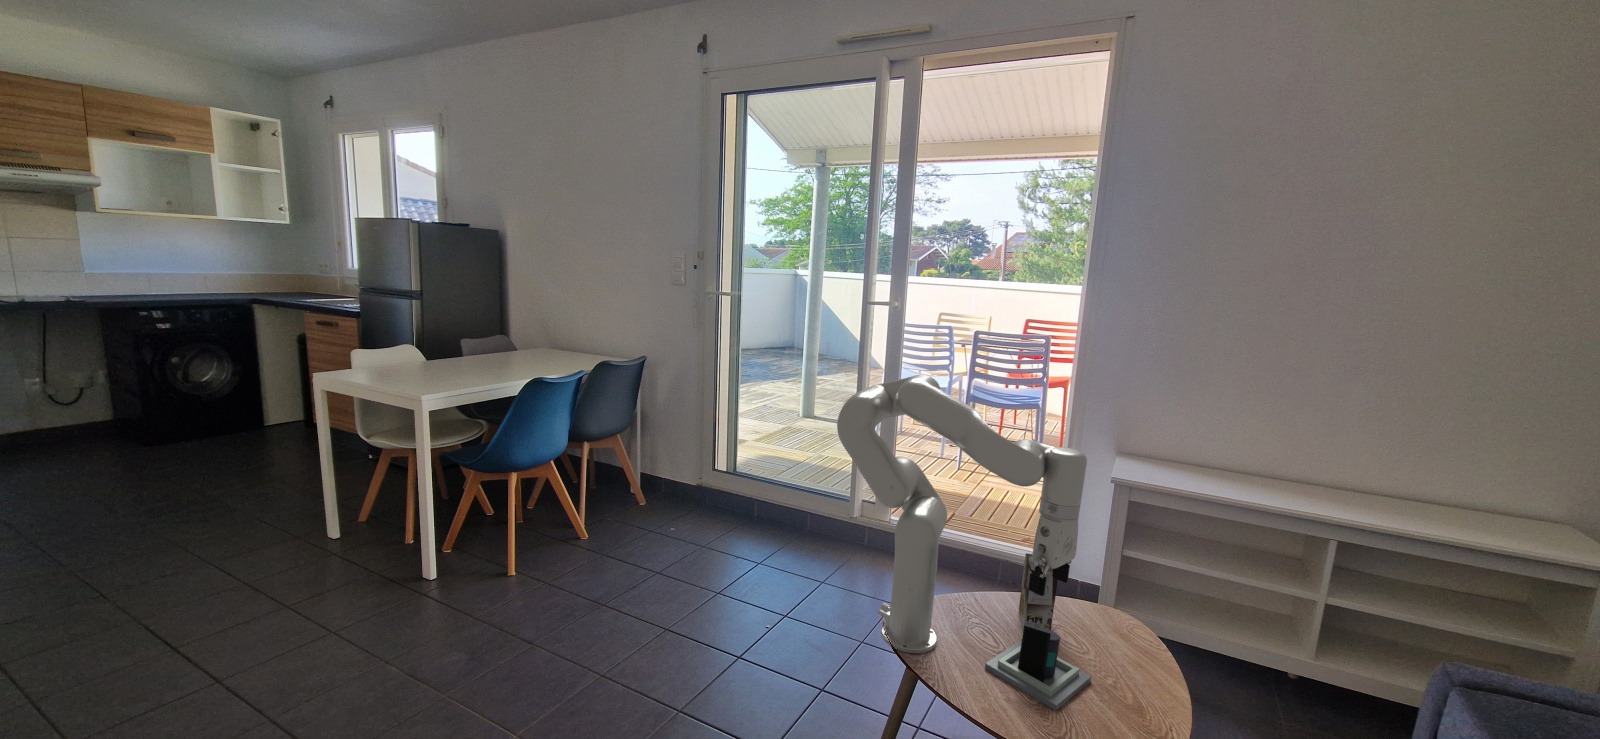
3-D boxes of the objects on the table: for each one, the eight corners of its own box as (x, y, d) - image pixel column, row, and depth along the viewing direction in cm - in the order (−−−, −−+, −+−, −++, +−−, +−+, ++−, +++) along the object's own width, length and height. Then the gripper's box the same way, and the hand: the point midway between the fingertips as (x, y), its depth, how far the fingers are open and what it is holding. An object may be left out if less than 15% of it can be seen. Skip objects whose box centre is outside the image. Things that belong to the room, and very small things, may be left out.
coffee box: (1051, 635, 147) (1060, 572, 144) (1023, 631, 148) (1031, 568, 145) (1044, 615, 155) (1052, 555, 153) (1017, 611, 157) (1025, 551, 154)
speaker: (1041, 686, 125) (1048, 637, 125) (1016, 673, 130) (1022, 625, 129) (1060, 676, 130) (1066, 629, 130) (1034, 663, 135) (1040, 617, 134)
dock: (984, 668, 133) (986, 658, 132) (1021, 644, 142) (1022, 634, 142) (1055, 710, 121) (1057, 699, 120) (1090, 681, 130) (1092, 671, 130)
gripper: (1056, 524, 117) (1044, 606, 120) (1096, 506, 129) (1085, 582, 131) (1020, 510, 123) (1009, 590, 126) (1062, 494, 134) (1051, 568, 137)
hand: (1048, 586), depth 128 cm, fingers open, 9 cm apart
